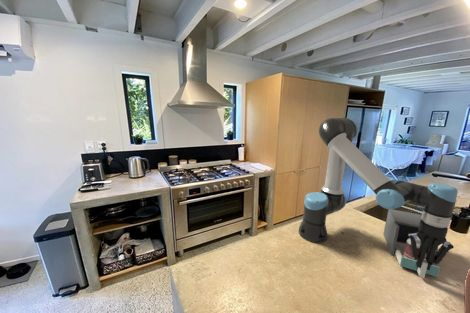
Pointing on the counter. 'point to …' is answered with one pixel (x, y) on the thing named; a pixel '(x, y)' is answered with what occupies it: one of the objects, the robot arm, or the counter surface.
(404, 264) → the tray
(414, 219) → the housing
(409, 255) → the pill bottle
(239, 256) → the counter surface
